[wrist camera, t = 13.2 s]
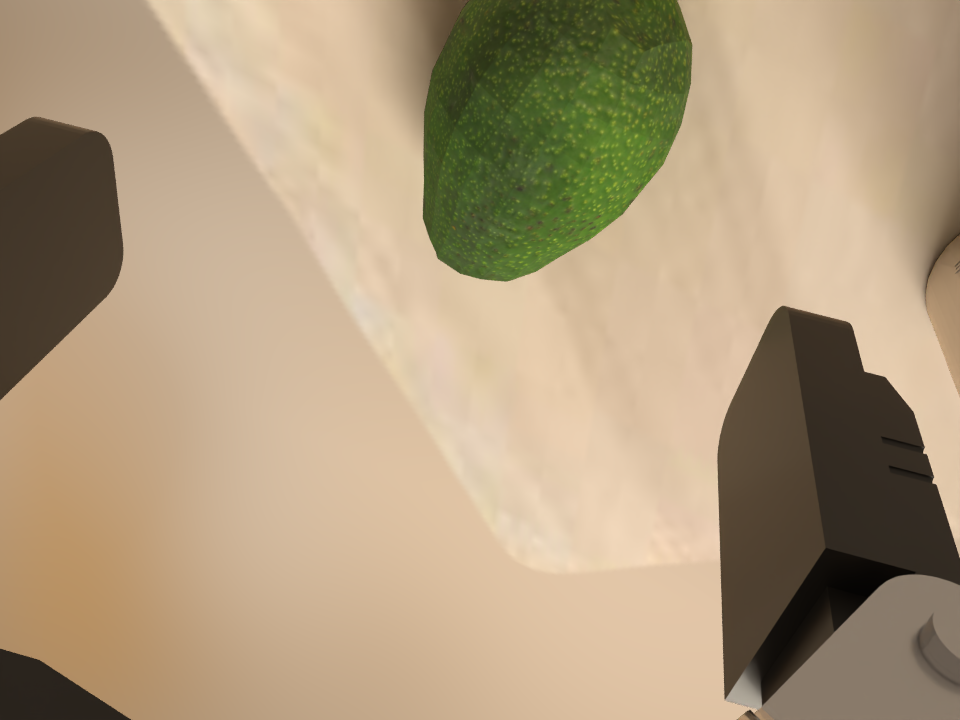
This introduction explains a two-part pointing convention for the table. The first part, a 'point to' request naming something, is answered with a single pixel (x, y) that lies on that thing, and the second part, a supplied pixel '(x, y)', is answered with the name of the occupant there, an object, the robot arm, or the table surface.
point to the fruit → (547, 125)
